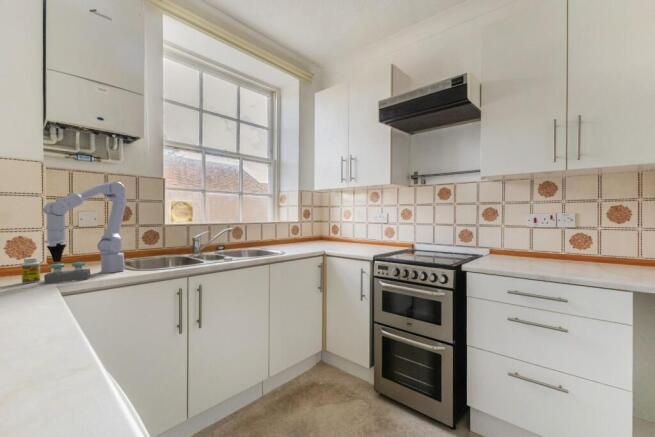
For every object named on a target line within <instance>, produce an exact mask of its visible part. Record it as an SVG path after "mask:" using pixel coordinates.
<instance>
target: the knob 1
mask: <svg viewBox="0 0 655 437" xmlns="http://www.w3.org/2000/svg"><path fill="white" fill-rule="evenodd" d="M64 267H66V264H65V263H54V264H53V263H52V264H50V266H49V269H53V272H54V274H57V273H61V271H62V268H64Z"/></svg>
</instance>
